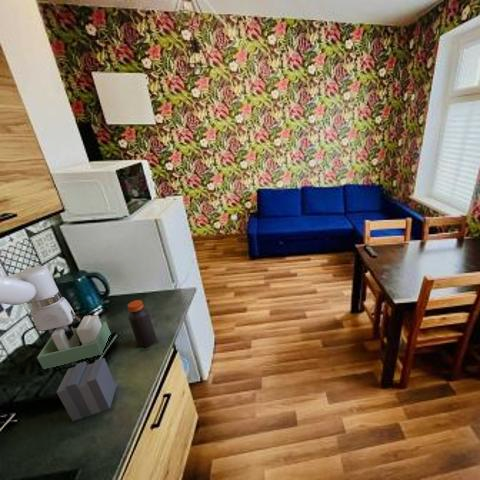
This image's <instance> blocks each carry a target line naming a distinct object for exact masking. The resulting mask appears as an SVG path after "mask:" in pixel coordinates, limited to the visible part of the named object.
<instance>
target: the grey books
mask: <svg viewBox="0 0 480 480" xmlns="http://www.w3.org/2000/svg"><path fill="white" fill-rule="evenodd" d="M94 360H95V361H94V362H93V363H90V364H89V363H87V361H83V362H80V363H76V364H75V366H73V367H70V368H68V369H67V370H66V373H65V374H64V377H63V378H62V381H61V382H60V384H59V386H58V388H57V390H56V394H57V396H58V397H59V398H58V399H60V401H61V403H62V405H63V407H64V408H65V409H64V410H66V413H67V414H68V416H69V418H70V419H71V421H72V422H75V421H78V420H80V419H84V418H87V417H90V416H94V415H97V414H99V413H103V412H106V411H108V410H110V409H111V407H112V403H113V399H114V396H115V392H116V389H117V384H116V382H115V379H114V377H113V375H112V372H111V370H110V368H109V365H108V363H107V361H106V358H105V357H101V358H97V359H94Z"/></svg>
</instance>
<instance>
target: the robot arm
mask: <svg viewBox="0 0 480 480" xmlns="http://www.w3.org/2000/svg"><path fill="white" fill-rule="evenodd" d="M0 304H3V305H9V306H19V305H23V304H31V306H30V313H31V317H32V320H33V323H34V325H35V328H36V331H37V332H45V333H49V334H50V336H51V335H52V334H53V332H54V331H55V329H56V328H58V327H62V326H63V327H64V329H65V334H66V336H67V339H68V340H70V339H71V338H72V336H73V335H74V332H73V330H72V328H71V327H74V325H76V324H78V323H80V322H81V318H80V317H79V316H77V315H76V313H75V312H74V311H75V310H74V309H73V307H72V306H71V304H70V302H68V300H67V299H66V298H65V297H64V296H62V294H61V292H60V291H59V288H58V286H57V284H56V281H55V279H54V277H53V275H52V272H50V269H49V268H48V267H47V266H43V265H38V266H33V267H29V268H26V269H24V270H22V271H20V272H16V273H12V274H8V275H5V276H1V275H0Z"/></svg>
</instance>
